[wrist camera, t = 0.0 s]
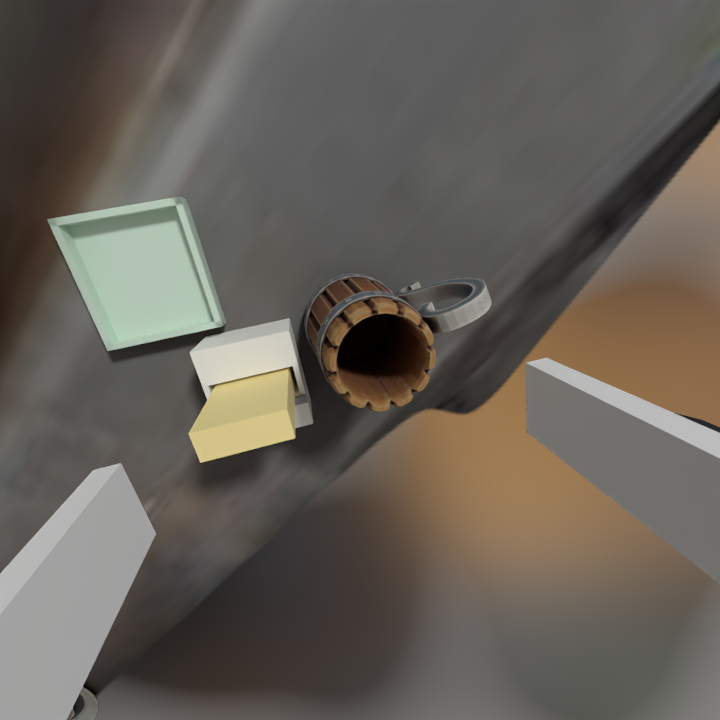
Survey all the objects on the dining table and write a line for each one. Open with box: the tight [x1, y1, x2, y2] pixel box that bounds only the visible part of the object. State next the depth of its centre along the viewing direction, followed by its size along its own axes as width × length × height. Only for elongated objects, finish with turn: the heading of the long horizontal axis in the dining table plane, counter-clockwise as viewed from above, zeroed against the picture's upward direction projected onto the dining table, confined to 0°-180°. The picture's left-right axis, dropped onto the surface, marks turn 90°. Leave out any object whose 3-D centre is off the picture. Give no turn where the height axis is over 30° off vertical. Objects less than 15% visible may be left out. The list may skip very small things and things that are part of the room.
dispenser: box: [190, 318, 313, 428], centre depth 35 cm, size 10×9×7 cm
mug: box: [304, 273, 491, 411], centre depth 32 cm, size 16×11×15 cm
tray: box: [47, 197, 226, 351], centre depth 33 cm, size 12×11×2 cm
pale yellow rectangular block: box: [189, 366, 295, 463], centre depth 31 cm, size 2×7×14 cm, turn 100°
